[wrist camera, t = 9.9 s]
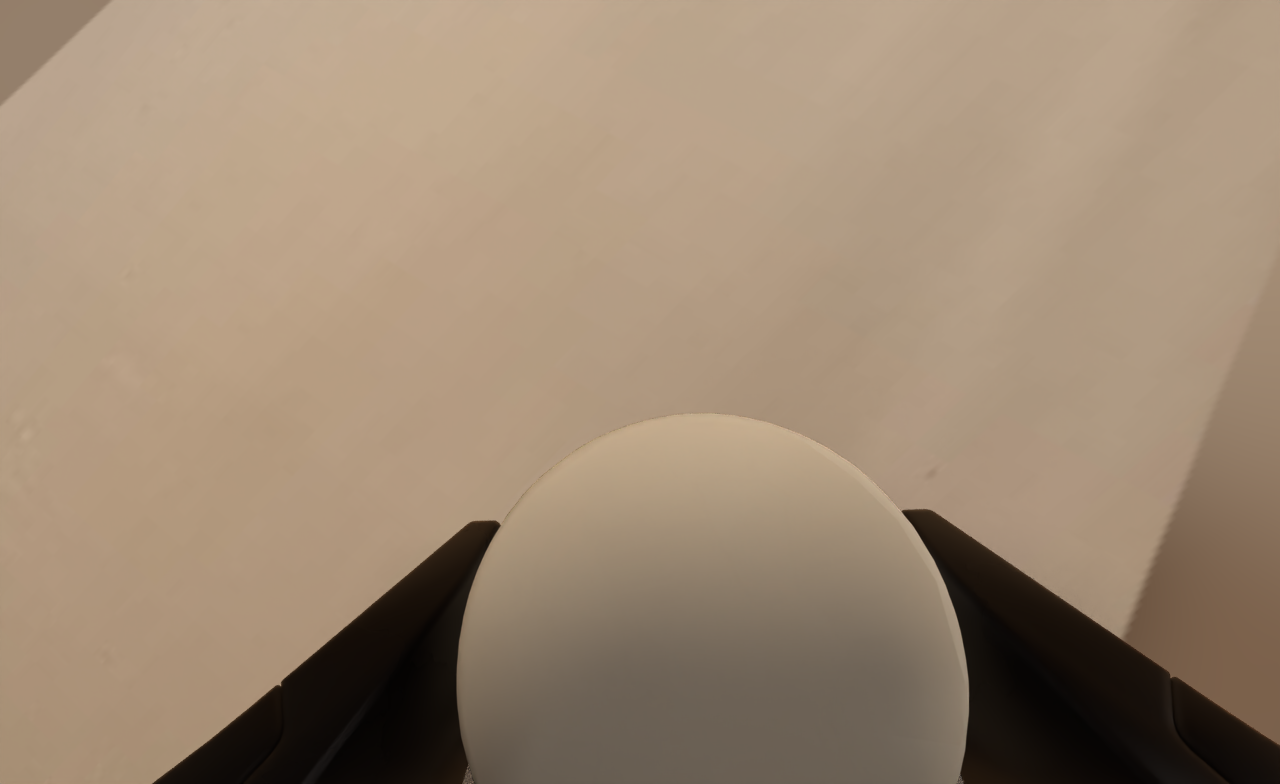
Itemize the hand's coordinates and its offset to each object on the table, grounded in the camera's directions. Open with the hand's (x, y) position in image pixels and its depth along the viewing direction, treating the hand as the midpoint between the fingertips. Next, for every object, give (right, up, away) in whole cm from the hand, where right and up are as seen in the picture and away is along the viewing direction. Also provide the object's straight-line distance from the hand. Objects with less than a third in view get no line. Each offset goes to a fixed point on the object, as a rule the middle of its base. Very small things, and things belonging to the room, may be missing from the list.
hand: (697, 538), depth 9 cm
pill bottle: (+1, -3, +6) cm, 7 cm away
